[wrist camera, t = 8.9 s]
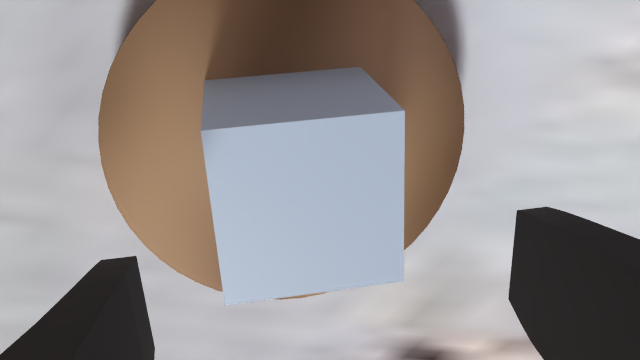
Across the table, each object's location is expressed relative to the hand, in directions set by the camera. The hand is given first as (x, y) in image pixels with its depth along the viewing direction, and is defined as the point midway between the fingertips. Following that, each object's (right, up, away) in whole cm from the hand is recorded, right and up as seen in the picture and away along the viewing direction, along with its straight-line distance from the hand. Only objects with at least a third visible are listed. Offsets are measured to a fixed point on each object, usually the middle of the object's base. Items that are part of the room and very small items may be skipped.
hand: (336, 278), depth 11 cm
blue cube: (-1, +3, +7) cm, 7 cm away
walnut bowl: (-2, +4, +9) cm, 9 cm away
